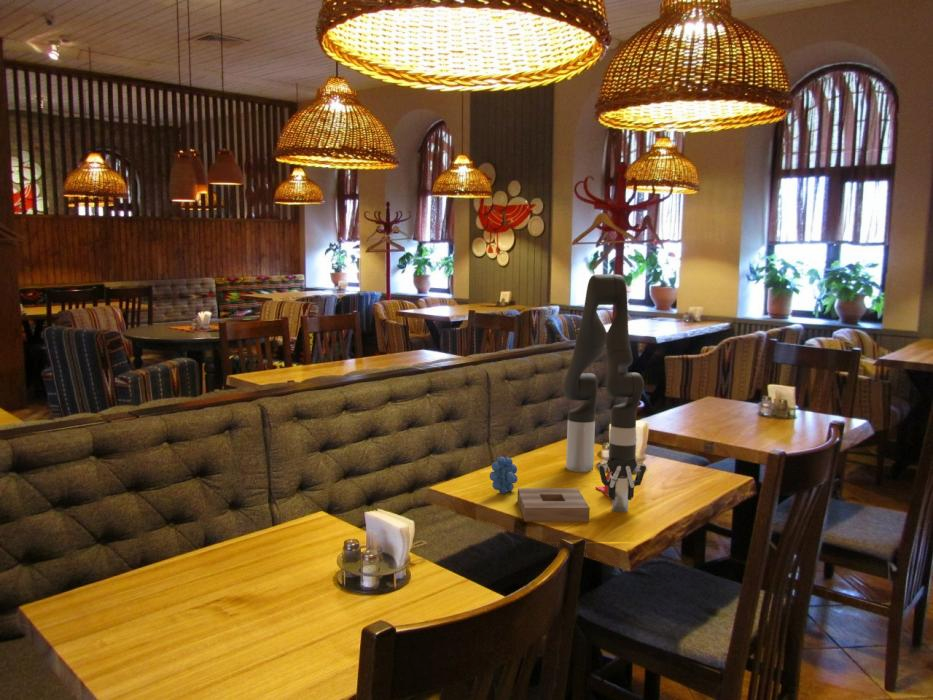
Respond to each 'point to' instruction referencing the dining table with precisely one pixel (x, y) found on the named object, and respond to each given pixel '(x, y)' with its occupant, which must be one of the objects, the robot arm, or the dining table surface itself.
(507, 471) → the grapes
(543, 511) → the socket block
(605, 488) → the bracket
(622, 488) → the peg
